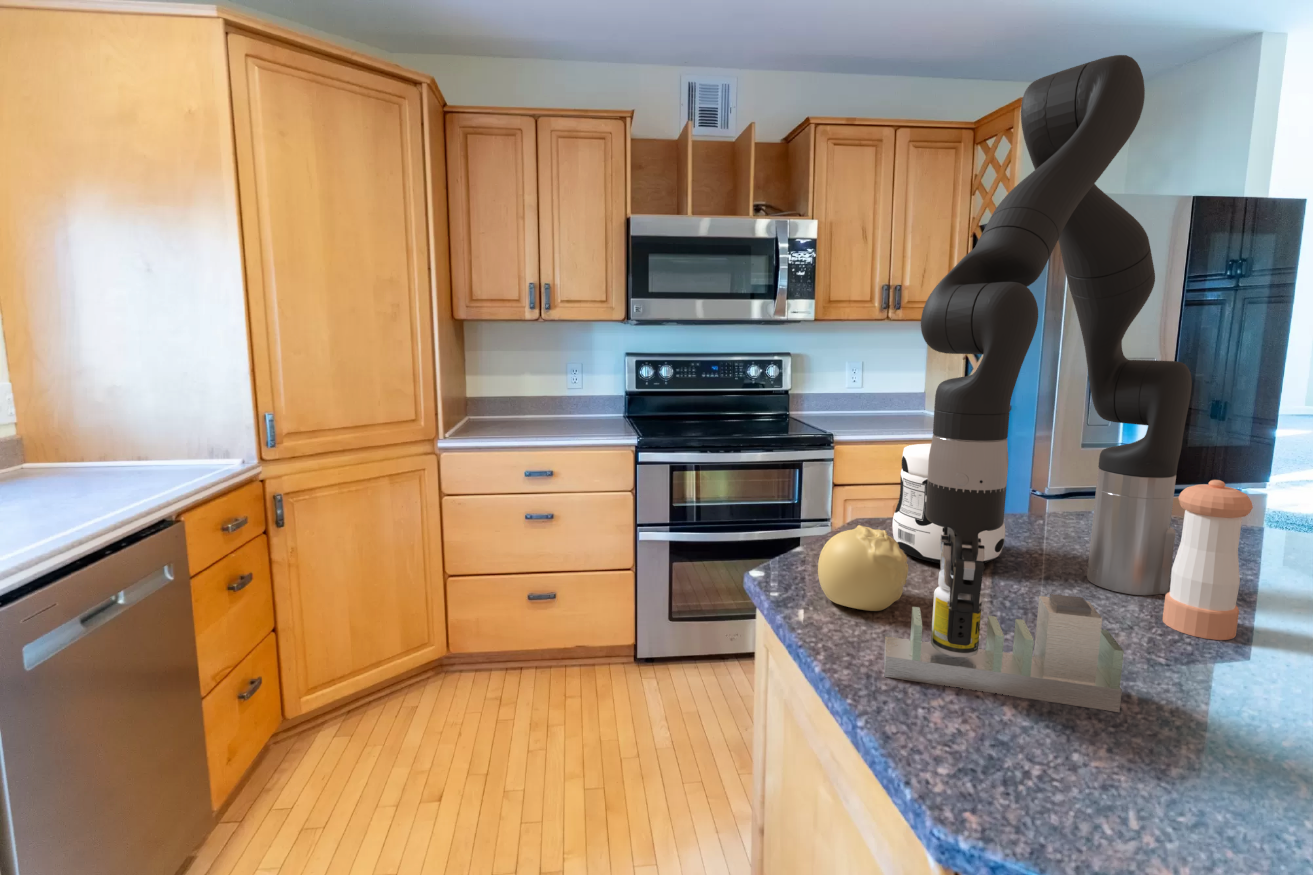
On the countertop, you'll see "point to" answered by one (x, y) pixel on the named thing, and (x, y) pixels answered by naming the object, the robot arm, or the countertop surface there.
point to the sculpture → (863, 569)
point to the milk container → (910, 513)
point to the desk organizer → (1025, 658)
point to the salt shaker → (1207, 562)
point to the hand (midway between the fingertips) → (955, 631)
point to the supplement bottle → (941, 623)
